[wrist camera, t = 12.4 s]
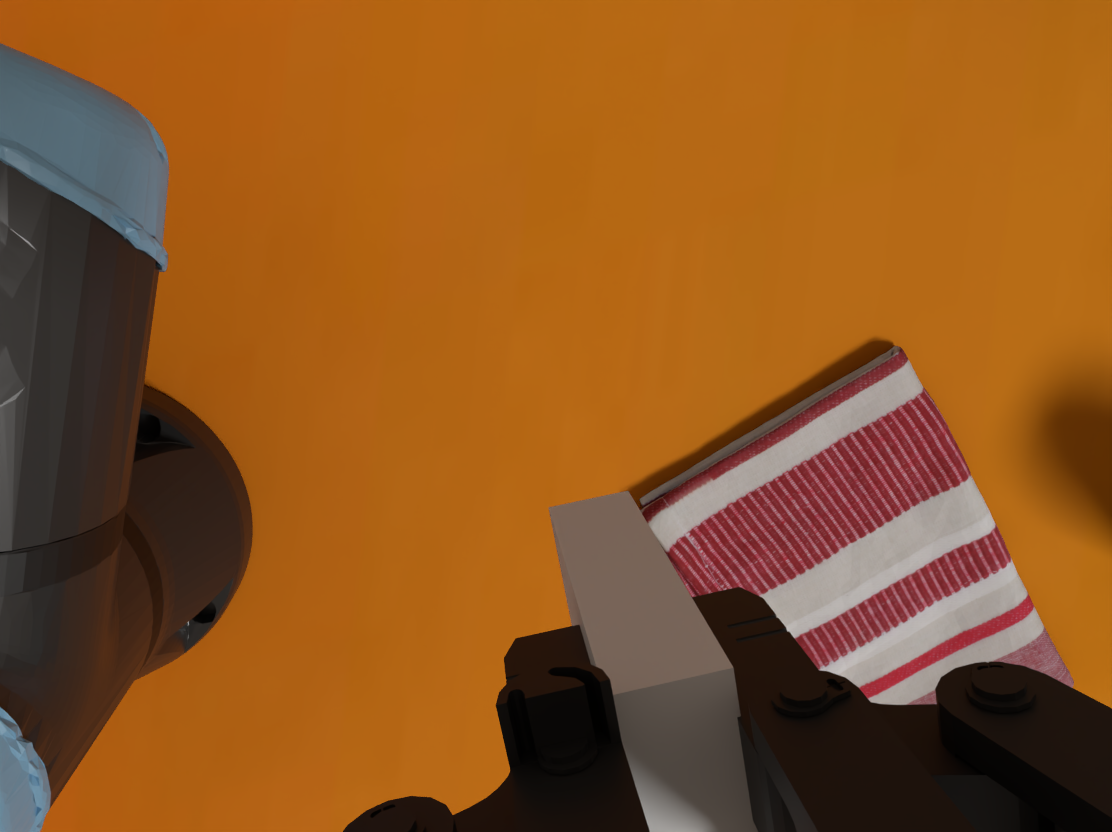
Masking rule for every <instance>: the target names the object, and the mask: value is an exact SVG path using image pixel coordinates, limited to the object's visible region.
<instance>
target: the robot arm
mask: <svg viewBox="0 0 1112 832" xmlns="http://www.w3.org/2000/svg"><path fill="white" fill-rule="evenodd" d="M168 176H169V164H168V156H167V152H166V149H165V146H164V143H163V141H162V139H161V137H160V136H159V134H158V132H157V131H156V130H155V128H154V127H153V125H152V123H151V122H150V121H149V120H148V119H147V118H146V117H145V116H143V115H142V114H141V113H140V112H139V111H138V110H137V109H135V108H134V107H133V106H131V105H130V104H129V103H127V102H126V101H124V100H122V99H121V98H119V97H118V96H116V95H114V94H112V93H110V92H109V91H107V90H105V89H103V88H101V87H99V86H97V85H95V84H93V83H91V82H89V81H86V80H84V79H82V78H80V77H78V76H75V75H73V74H71V73H69V72H67V71H64V70H62V69H60V68H58V67H56V66H53V65H51V64H49V63H46V62H44V61H42V60H39V59H37V58H35V57H32V56H30V55H27V54H25V53H22V52H20V51H18V50H15V49H13V48H10V47H8V46H5V45H3V44H1V43H0V832H40V830H41V829H42V826H43V822H44V818H45V815H46V814H47V812H48V810H49V809H50V807H51V806H52V804H53V803H54V801H55V800H56V798H57V797H58V795H59V794H60V792H61V791H62V789H63V788H64V786H65V785H66V783H67V782H68V780H69V779H70V777H71V776H72V774H73V773H74V771H75V770H76V768H77V767H78V765H79V764H80V762H81V760H82V759H83V757H84V756H85V754H86V753H87V751H88V750H89V748H90V747H91V745H92V744H93V742H94V741H95V739H96V738H97V736H98V735H99V733H100V732H101V730H102V729H103V727H104V726H105V724H106V723H107V721H108V720H109V718H110V717H111V715H112V713H113V712H114V710H115V709H116V707H117V706H118V704H119V703H120V701H121V700H122V698H123V697H124V695H125V694H126V692H127V691H128V689H129V688H130V686H131V685H132V683H133V682H134V681H135V680H137V679H139V678H141V677H143V676H145V675H147V674H149V673H151V672H152V671H154V670H156V669H158V668H160V667H162V666H164V665H166V664H168V663H170V662H172V661H173V660H175V659H177V658H178V657H180V656H181V655H183V654H184V653H186V652H187V651H188V650H190V649H191V648H192V647H193V646H195V645H196V644H197V643H198V642H199V641H200V640H201V639H202V638H203V637H204V636H205V635H206V634H207V633H208V632H209V631H210V630H211V629H212V628H213V627H214V625H215V624H216V623H217V621H218V620H219V619H220V618H221V616H222V614H223V613H224V611H225V610H226V608H227V606H228V605H229V603H230V601H231V600H232V598H233V596H234V594H235V593H236V591H237V589H238V587H239V585H240V583H241V581H242V578H243V576H244V573H245V571H246V568H247V565H248V561H249V557H250V551H251V546H252V513H251V507H250V501H249V497H248V493H247V490H246V487H245V484H244V481H243V479H242V476H241V474H240V471H239V469H238V468H237V466H236V464H235V462H234V460H233V458H232V457H231V455H230V453H229V452H228V450H227V449H226V448H225V446H224V445H223V443H222V442H221V441H220V440H219V438H218V437H217V436H216V435H215V434H214V433H213V431H212V430H211V429H210V428H209V427H208V426H207V425H206V424H205V423H204V422H202V421H201V420H200V419H199V418H198V417H197V416H196V415H194V414H193V413H192V412H191V411H189V410H188V409H187V408H185V407H184V406H182V405H181V404H179V403H178V402H176V401H174V400H173V399H171V398H169V397H168V396H166V395H164V394H162V393H160V392H158V391H155V390H153V389H151V388H148V387H146V386H144V380H145V372H146V365H147V357H148V350H149V342H150V335H151V327H152V320H153V312H154V305H155V297H156V290H157V282H158V275H159V272H165V271H166V269H167V264H168V254H167V252H166V251H165V249H164V247H163V246H162V245H163V234H164V222H165V211H166V199H167V188H168ZM549 512H550V517H551V522H552V527H553V532H554V537H555V542H556V547H557V552H558V557H559V562H560V567H561V572H562V577H563V583H564V588H565V593H566V598H567V603H568V608H569V613H570V618H571V623H572V626H570V627H566V628H561V629H557V630H552V631H548V632H543V633H539V634H534V635H530V636H525V637H520V638H516V639H515V640H514V642H513V644H512V646H511V647H510V649H509V651H508V652H507V654H506V656H505V657H504V663H505V673H506V680H507V681H506V683H507V684H506V686H505V687H504V688H503V689H502V690H501V691H500V692H499V695H498V699H497V703H496V708H497V712H498V717H499V721H500V726H501V730H502V734H503V739H504V743H505V748H506V752H507V757H508V761H509V765H510V773H509V775H508V777H507V778H506V780H505V781H504V782H503V783H502V784H501V786H500V787H499V788H498V789H497V790H495V791H494V792H493V793H492V794H491V795H489V796H488V797H487V798H485V799H484V800H482V801H480V802H478V803H477V804H475V805H473V806H471V807H470V808H467V809H465V810H463V811H461V812H459V813H457V814H455V815H452V814H451V812H450V810H449V809H448V807H447V806H446V805H445V804H443V803H441V802H439V801H437V800H435V799H433V798H431V797H416V796H409V797H404V798H399V799H394V800H389V801H387V802H384V803H382V804H380V805H377V806H375V807H373V808H371V809H369V810H367V811H365V812H364V813H363V814H361V815H360V816H359V817H358V818H356V819H355V820H354V821H352V822H351V823H350V824H348V825H347V827H346V828H345V829H344V831H343V832H1112V709H1111V708H1110V707H1108V706H1106V705H1104V704H1102V703H1100V702H1098V701H1096V700H1094V699H1092V698H1090V697H1089V696H1087V695H1085V694H1083V693H1081V692H1079V691H1077V690H1075V689H1073V688H1071V687H1070V686H1068V685H1066V684H1064V683H1062V682H1060V681H1058V680H1056V679H1054V678H1052V677H1050V676H1049V675H1047V674H1044V673H1042V672H1039V671H1036V670H1034V669H1031V668H1029V667H1026V666H1022V665H1016V664H1009V663H1004V662H992V661H989V662H978V663H973V664H969V665H965V666H961V667H957V668H954V669H953V670H951V671H950V672H948V673H947V674H945V675H943V676H942V677H941V678H940V680H939V682H938V684H937V686H936V688H935V692H936V703H937V704H914V705H892V704H878V703H873V702H870V701H869V699H868V698H867V697H866V696H865V695H864V693H863V692H862V691H861V690H860V689H859V687H857V686H856V685H855V684H853V683H852V682H851V681H850V680H848V679H847V678H846V677H843V676H840V675H837V674H834V673H831V672H828V671H820V670H819V669H818V668H817V667H816V665H815V664H814V663H813V662H812V660H811V659H810V658H809V656H808V655H807V654H806V653H805V651H804V650H803V649H802V647H801V646H800V645H799V644H798V642H797V641H796V640H795V638H794V637H793V636H792V635H791V633H790V632H789V631H788V632H787V629H786V627H785V625H784V624H783V623H782V622H781V620H780V619H779V618H777V617H776V614H775V613H774V611H773V610H772V609H771V607H770V606H769V605H768V604H767V602H766V601H765V600H764V598H762V597H760V596H758V595H756V594H754V593H751V592H749V591H747V590H745V589H743V588H741V587H736V588H731V589H727V590H722V591H718V592H713V593H709V594H704V595H700V596H695V597H691V595H690V594H689V592H688V590H687V589H686V587H685V585H684V584H683V582H682V580H681V579H680V577H679V575H678V574H677V572H676V570H675V569H674V567H673V565H672V563H671V562H670V560H669V558H668V557H667V555H666V553H665V552H664V550H663V548H662V547H661V545H660V543H659V542H658V540H657V538H656V537H655V535H654V533H653V532H652V530H651V528H650V526H649V525H648V523H647V521H646V520H645V518H644V516H643V515H642V513H641V511H640V510H639V508H638V506H637V505H636V503H635V501H634V500H633V498H632V496H631V495H630V493H629V491H625V492H620V493H615V494H610V495H606V496H601V497H596V498H592V499H587V500H582V501H577V502H573V503H568V504H563V505H559V506H554V507H549Z"/></svg>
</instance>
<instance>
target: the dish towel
mask: <svg viewBox="0 0 1112 832" xmlns="http://www.w3.org/2000/svg"><path fill="white" fill-rule="evenodd" d="M639 500H640V502H641V505H642V506H643V509H642V510H640V511H641V513H642V515H643V516H644V518H645V520H646V521H647V523H648V525H649V526H650V528H651V530H652V532H653V533H654V535H655V537H656V538H657V540H658V542H659V543H660V545H661V547H662V548H663V550H664V552H665V553H666V555H667V557H668V558H669V560H670V562H671V563H672V565H673V567H674V569H675V570H676V572H677V574H678V575H679V577H680V579H681V580H682V582H683V584H684V585H685V587H686V589H687V590H688V592H689V594H690V595H691V597H695V596H700V595H704V594H709V593H713V592H718V591H722V590H727V589H731V588H736V587H741V588H743V589H745V590H747V591H749V592H751V593H754V594H756V595H758V596H760V597H762V598H764V600H765V601H766V602H767V604H768V605H769V606H770V607H771V609H772V610H773V611H774V613H775V614H776V617H777V618H779V619H780V620H781V622H782V623H783V624H784V625H785V627H786V629H787V632H788V631H789V632H790V633H791V635H792V636H793V637H794V638H795V640H796V641H797V642H798V644H799V645H800V646H801V647H802V649H803V650H804V651H805V653H806V654H807V655H808V656H809V658H810V659H811V660H812V662H813V663H814V664H815V665H816V667H817V668H818V669H819V670H820V671H828V672H831V673H834V674H837V675H840V676H843V677H846V678H847V679H848V680H850V681H851V682H852V683H853V684H855V685H856V686H857V687H859V689H860V690H861V691H862V692H863V693H864V695H865V696H866V697H867V698H868V699H869V701H870V702H873V703H878V704H892V705H914V704H937V703H936V692H935V688H936V686H937V684H938V682H939V680H940V678H941V677H942V676H943V675H945V674H947V673H948V672H950V671H951V670H953V669H954V668H957V667H961V666H965V665H969V664H973V663H978V662H989V661H992V662H1004V663H1009V664H1016V665H1022V666H1026V667H1029V668H1031V669H1034V670H1036V671H1039V672H1042V673H1044V674H1047V675H1049V676H1050V677H1052V678H1054V679H1056V680H1058V681H1060V682H1062V683H1064V684H1066V685H1068V686H1070V687H1071V688H1072V687H1073V684H1074V681H1073V679H1072V677H1071V675H1070V672H1069V671H1068V669H1067V667H1066V666H1065V664H1064V663H1063V661H1062V659H1061V657H1060V655H1059V654H1058V652H1057V650H1056V648H1055V646H1054V644H1053V642H1052V641H1051V639H1050V637H1049V635H1048V633H1047V631H1046V629H1045V627H1044V626H1043V624H1042V622H1041V620H1040V618H1039V615H1038V613H1037V611H1036V610H1035V608H1034V605H1033V603H1032V601H1031V599H1030V596H1029V595H1028V593H1027V591H1026V589H1025V587H1024V585H1023V583H1022V581H1021V579H1020V577H1019V575H1018V573H1017V571H1016V569H1015V566H1014V564H1013V562H1012V559H1011V557H1010V554H1009V552H1008V550H1007V548H1006V546H1005V542H1004V540H1003V538H1002V536H1001V534H1000V532H999V530H998V528H997V526H996V524H995V522H994V520H993V518H992V516H991V513H990V511H989V509H988V507H987V505H986V503H985V501H984V499H983V497H982V495H981V494H980V492H979V490H978V488H977V486H976V484H975V482H974V480H973V479H972V477H971V474H970V471H969V468H968V466H967V464H966V462H965V459H964V457H963V455H962V453H961V451H960V449H959V448H958V445H957V444H956V442H955V440H954V438H953V436H952V434H951V432H950V430H949V428H948V426H947V424H946V422H945V420H944V418H943V416H942V415H941V413H940V411H939V409H938V408H937V406H936V405H935V403H934V401H933V400H932V398H931V397H930V395H929V394H928V393H927V391H926V390H925V388H924V387H923V386H922V385H921V383H920V381H919V379H918V377H917V375H916V373H915V371H914V370H913V368H912V366H911V364H910V362H909V360H908V358H907V356H906V354H905V353H904V351H903V350H902V349H901V347H898V346H894V347H893V348H891V349H890V350H889V351H887V352H886V353H884V354H882V355H880V356H878V357H877V358H875V359H874V360H872V361H871V362H869V363H867V364H866V365H864V366H862V367H861V368H859V369H857V370H855V371H853V372H852V373H850V374H848V375H846V376H844V377H843V378H841V379H839V380H837V381H836V382H834V383H832V384H830V385H829V386H827V387H825V388H824V389H822V390H820V391H818V392H816V393H815V394H813V395H811V396H810V397H808V398H806V399H805V400H803V401H801V402H800V403H798V404H796V405H794V406H793V407H791V408H789V409H788V410H786V411H785V412H783V413H781V414H780V415H779V416H777V417H775V418H773V419H771V420H769V421H767V422H766V423H764V424H762V425H761V426H759V427H758V428H756V429H754V430H752V431H751V432H749V433H747V434H746V435H744V436H742V437H741V438H739V439H737V440H735V441H733V442H732V443H730V444H728V445H727V446H725V447H724V448H722V449H720V450H719V451H717V452H715V453H714V454H712V455H711V456H709V457H707V458H706V459H704V460H702V461H701V462H699V463H697V464H696V465H694V466H693V467H691V468H690V469H688V470H687V471H685V472H683V473H682V474H680V475H678V476H676V477H675V478H673V479H671V480H669V481H668V482H666V483H664V484H662V485H661V486H659V487H658V488H656V489H654V490H652V491H651V492H649V493H648V494H646V495H645V496H643V497H642V498H640V499H639Z"/></svg>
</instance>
